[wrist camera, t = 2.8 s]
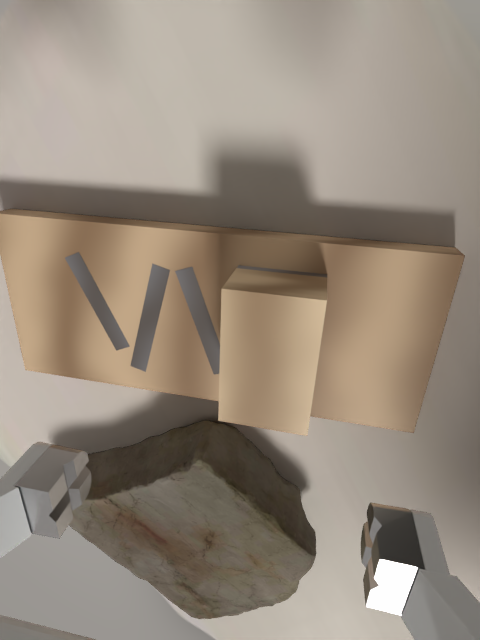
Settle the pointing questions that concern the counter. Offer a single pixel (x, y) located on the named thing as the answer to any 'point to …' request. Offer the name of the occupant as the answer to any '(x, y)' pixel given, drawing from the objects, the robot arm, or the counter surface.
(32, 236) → the board
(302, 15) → the counter surface
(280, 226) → the counter surface
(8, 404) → the counter surface
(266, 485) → the marble piece
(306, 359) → the block
